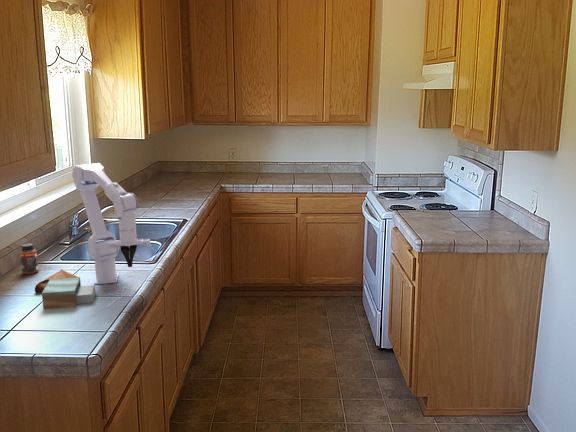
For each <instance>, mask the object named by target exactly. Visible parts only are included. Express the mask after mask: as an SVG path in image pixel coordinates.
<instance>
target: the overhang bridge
mask: <svg viewBox="0 0 576 432" xmlns="http://www.w3.org/2000/svg"><path fill="white" fill-rule="evenodd" d="M77 277H78V278H63V279H50V280H49V282H48V283H47V285H46V287H45V289H44V290H43V292H42V293H41V299H42V306H43V308H42V309H43V310H46V309H58V308H69V307H70V308H73V307H74V308H75V307H76V306H77V304H76V297H75V291H76V289H77V287H78V286H82V285H81V277H80V276H77Z"/></svg>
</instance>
